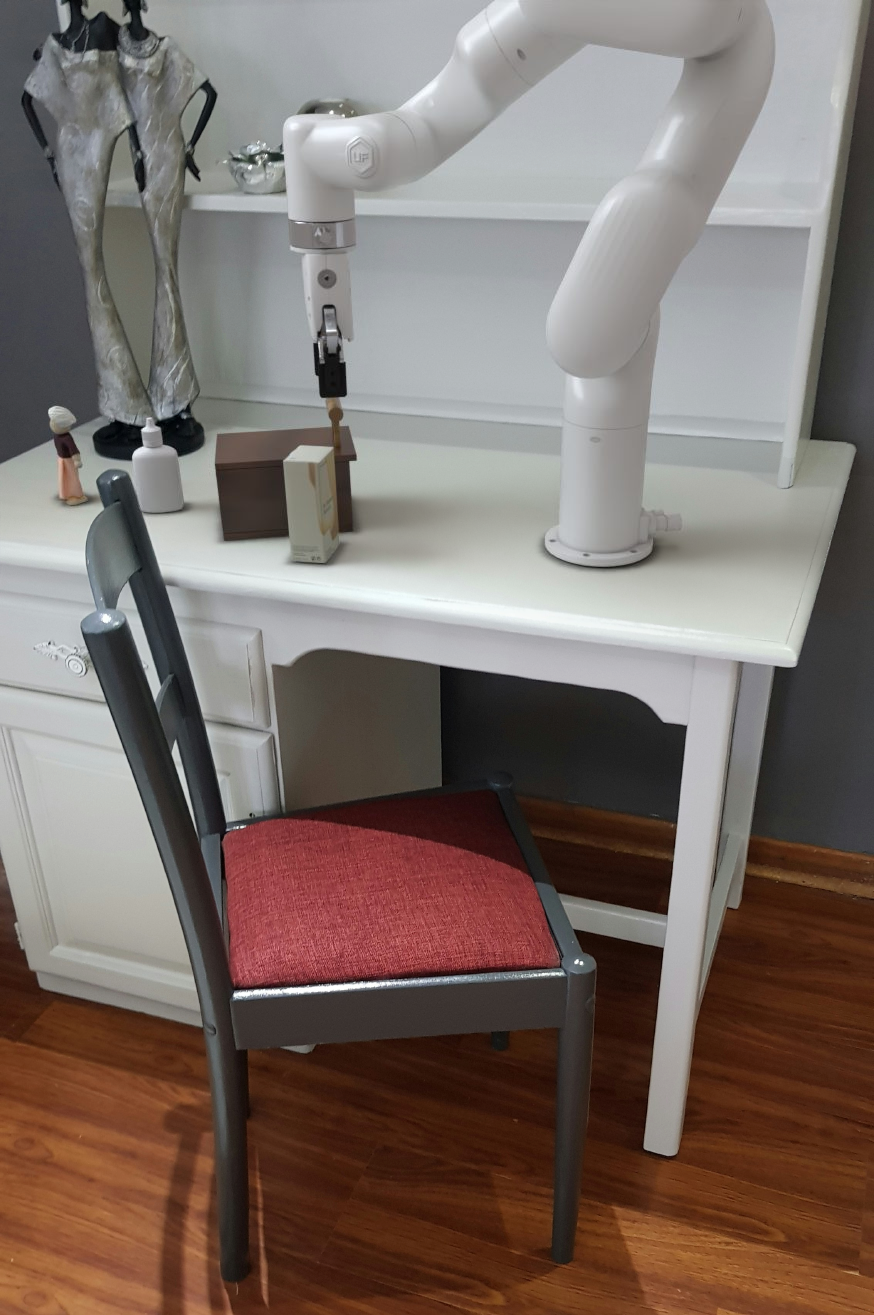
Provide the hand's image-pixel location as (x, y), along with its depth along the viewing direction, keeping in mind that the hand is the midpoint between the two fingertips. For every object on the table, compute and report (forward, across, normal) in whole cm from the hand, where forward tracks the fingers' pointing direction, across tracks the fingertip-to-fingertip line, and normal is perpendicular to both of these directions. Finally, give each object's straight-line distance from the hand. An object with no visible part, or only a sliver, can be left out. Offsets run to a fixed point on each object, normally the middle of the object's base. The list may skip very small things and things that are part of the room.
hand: (330, 385), depth 134 cm
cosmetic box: (+17, -12, +3) cm, 21 cm away
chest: (+17, 0, +6) cm, 18 cm away
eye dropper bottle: (+17, +6, +22) cm, 29 cm away
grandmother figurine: (+17, +12, +34) cm, 40 cm away
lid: (+8, 0, +6) cm, 10 cm away
